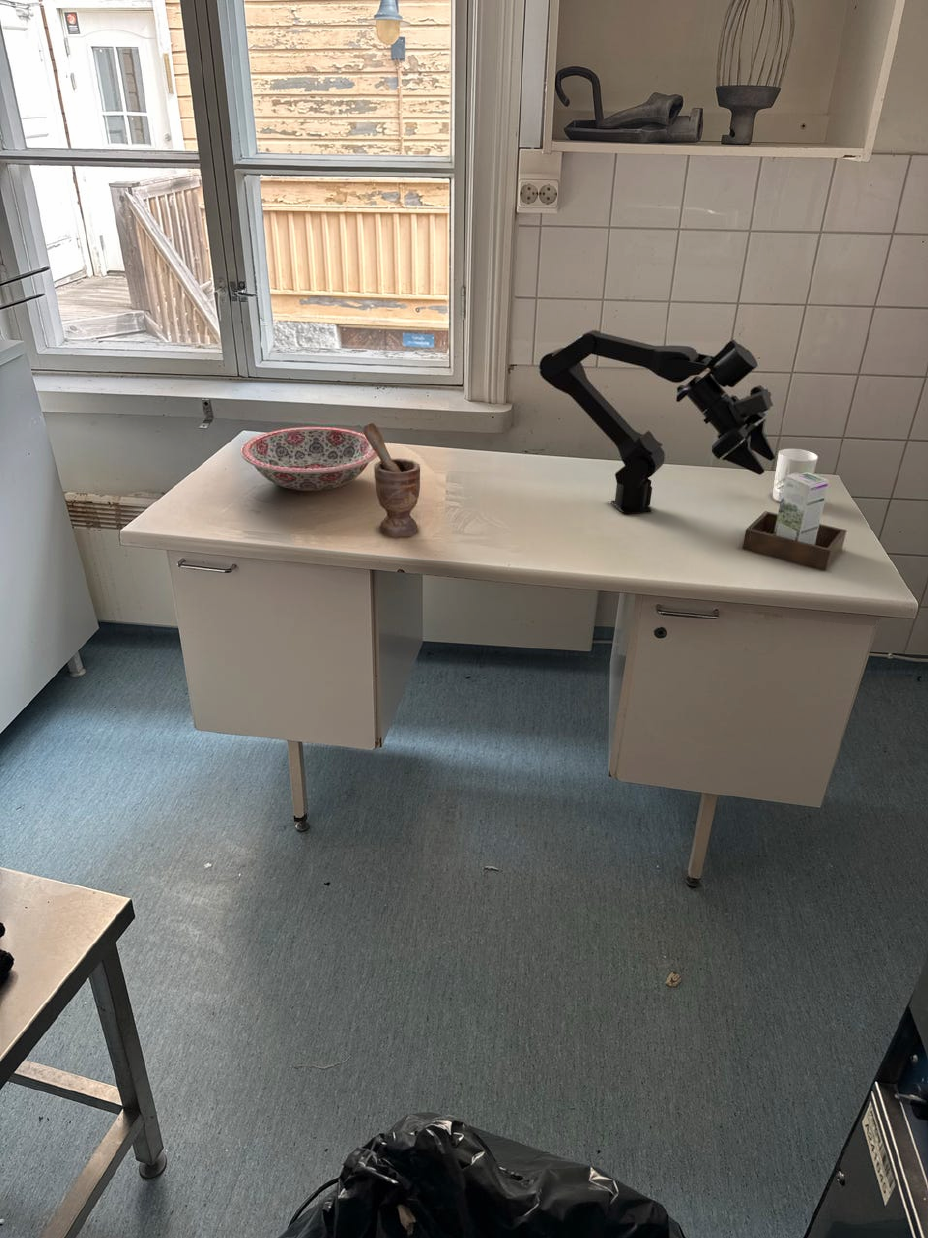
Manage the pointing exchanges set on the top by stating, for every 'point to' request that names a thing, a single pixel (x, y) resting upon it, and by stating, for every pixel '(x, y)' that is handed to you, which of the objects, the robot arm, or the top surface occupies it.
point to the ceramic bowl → (309, 456)
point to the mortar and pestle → (394, 487)
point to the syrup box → (801, 507)
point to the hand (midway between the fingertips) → (767, 466)
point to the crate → (793, 543)
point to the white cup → (792, 467)
